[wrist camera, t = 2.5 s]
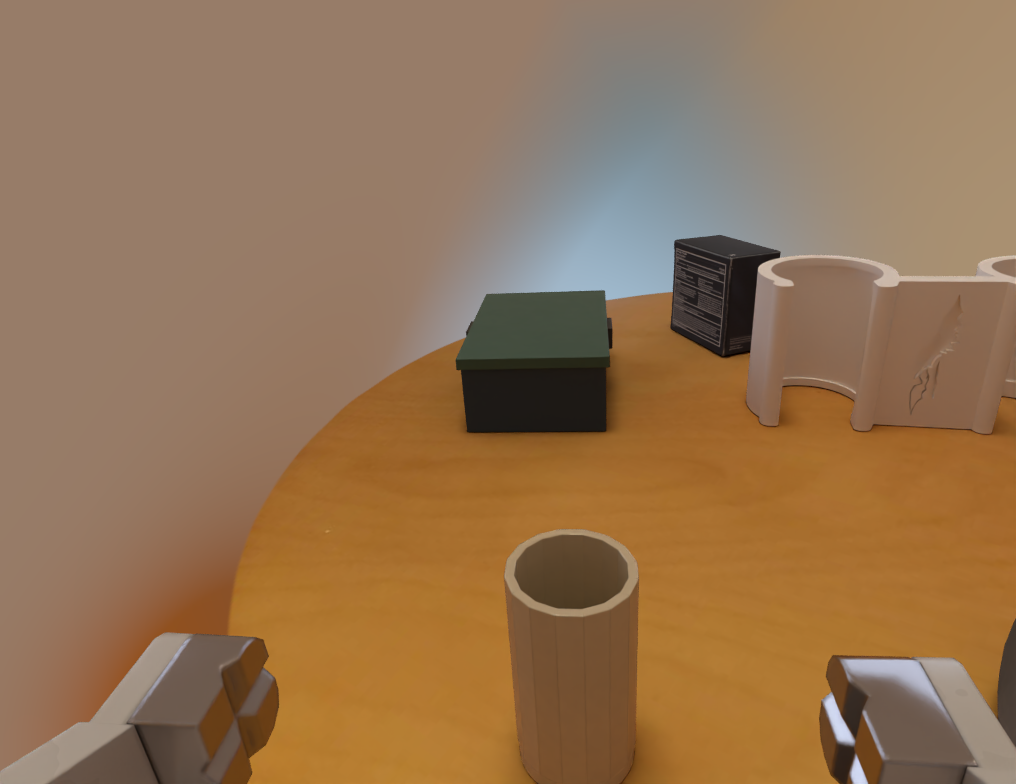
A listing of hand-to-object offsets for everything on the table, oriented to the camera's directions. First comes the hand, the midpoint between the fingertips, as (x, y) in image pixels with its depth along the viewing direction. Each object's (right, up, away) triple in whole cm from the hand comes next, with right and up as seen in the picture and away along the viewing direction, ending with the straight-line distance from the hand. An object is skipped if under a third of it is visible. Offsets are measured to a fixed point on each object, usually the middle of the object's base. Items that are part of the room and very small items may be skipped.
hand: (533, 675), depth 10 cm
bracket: (+33, +3, +48) cm, 59 cm away
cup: (+3, -12, +21) cm, 24 cm away
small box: (+23, +10, +66) cm, 71 cm away
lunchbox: (+3, +4, +57) cm, 57 cm away
